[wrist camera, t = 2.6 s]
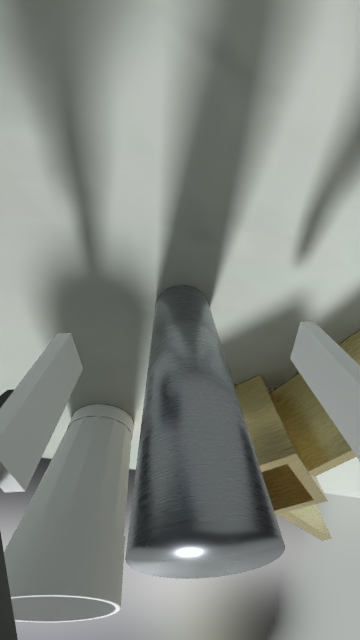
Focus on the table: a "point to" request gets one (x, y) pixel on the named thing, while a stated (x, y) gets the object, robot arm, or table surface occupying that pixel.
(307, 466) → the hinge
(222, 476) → the pin
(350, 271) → the table surface
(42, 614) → the cup
